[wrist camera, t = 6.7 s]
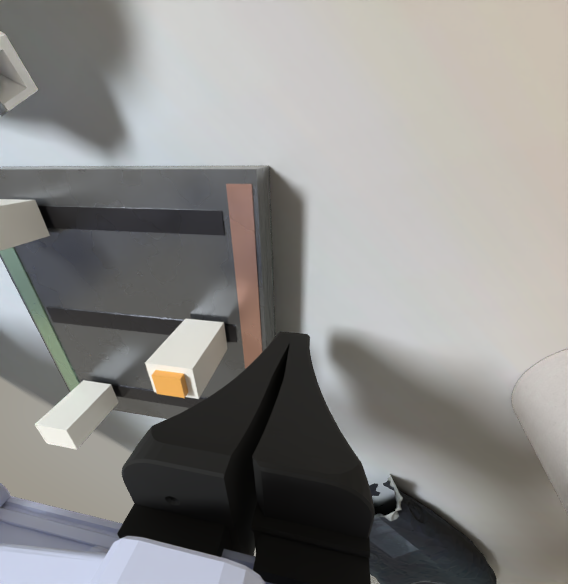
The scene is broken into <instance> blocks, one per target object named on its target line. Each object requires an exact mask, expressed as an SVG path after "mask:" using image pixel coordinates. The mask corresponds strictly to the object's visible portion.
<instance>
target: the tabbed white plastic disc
mask: <svg viewBox="0 0 568 584" xmlns="http://www.w3.org/2000/svg"><path fill="white" fill-rule="evenodd" d="M36 91H38V88H37V87H36V85H35V83H34V81H33V80H32V78H31V76H30V75H29V73H28V71H27V70H26V68H25V66H24V65H23V63H22V61H21V59H20V58H19V56H18V54H17V53H16V51H15V49H14V48H13V46H12V44H11V42H10V41H9V39H8V37H7V36H6V34H4V33H2V32H0V116H3V115H4V114H6V113H7V111H10V110H11V109H13V108H14V107H16V106H17V105H18V104H20V103H21V102H22V101H24V100H25V99H27V98H28V97H29V96H31V95H32V94H34V93H35V92H36Z"/></svg>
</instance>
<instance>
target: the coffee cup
mask: <svg viewBox="0 0 568 584" xmlns="http://www.w3.org/2000/svg"><path fill="white" fill-rule="evenodd" d="M512 407H513V410H514V412H515V414H516V416H517V418H518V420H519V422H520V424H521V426H522V428H523V430H524V432H525V433H526V435H527V437H528V439H529V441H530V443H531V445H532V447H533V449H534V451H535V453H536V455H537V457H538V459H539V461H540V462H541V464H542V466H543V468H544V470H545V472H546V474H547V476H548V478H549V480H550V482H551V484H552V486H553V488H554V489H555V491H556V493H557V495H558V497H559V499H560V501H561V503H562V505H563V507H564V509H565V511H566V513H567V515H568V349H566V350H563V351H560V352H558V353H555V354H553V355H551V356H549V357H547V358H545V359H543V360H541V361H540V362H538V363H537V364H535V365H534V366H532V367H531V368H530V369H529V370H528V371H526V372H525V373H524V374H523V375H522V377H521V378H520V379H519V380H518V382H517V384H516V385H515V387H514V390H513V393H512Z"/></svg>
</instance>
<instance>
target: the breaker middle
mask: <svg viewBox="0 0 568 584" xmlns="http://www.w3.org/2000/svg"><path fill="white" fill-rule="evenodd" d="M226 351H227V341H226V334H225V326H224V322H216V321H206V320H195V319H185V320H184V321H183V322H182V323H181V324H180V325H179V326H178V327H177V328H176V329H175V330H174V332H173V333H172V334H171V335H170V336H169V337H168V338H167V339H166V340H165V341H164V342H163V344H162V345H161V346H160V347H159V348H158V349H157V350H156V351H155V352H154V353H153V354H152V356H151V357H150V358H149V359H148V360H147V361H146V362H145V365H146V368H147V371H148V374H149V377H150V380H151V383H152V387H153V390H154V392H156V393H157V394H161V395H167V396H174V397H180V398H185V397H189V398H196V399H199V398H200V396H201V394H202V393H203V391H204V389H205V387H206V386H207V384H208V382H209V380H210V379H211V377H212V375H213V373H214V372H215V370H216V368H217V366H218V365H219V363H220V361H221V359H222V358H223V356H224V354H225V352H226Z"/></svg>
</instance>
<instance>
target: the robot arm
mask: <svg viewBox="0 0 568 584" xmlns="http://www.w3.org/2000/svg"><path fill="white" fill-rule="evenodd" d="M309 345H310V337H309V335H308V334H299V333H289V332H279V333H278V334H277V336H276V337H275V338H274V339H273V341H272V342H271V343H270V344H269V345H268V346H267V348H266V349H265V350H264V351H263V352H262V353H261V354H260V355H259V356H258V357H257V358H256V359H255V360H254V361H253V362H252V363H251V364H250V365H249V366H248V367H247V368H246V369H245V370H244V371H243V372H242V373H240V374H239V375H238V376H237V377H236V378H234V379H233V380H232V381H231V382H229V383H228V384H227V385H225V386H224V387H223V388H221V389H220V390H218V391H217V392H216V393H214V394H213V395H211V396H210V397H208V398H207V399H205V400H203V401H202V402H200V403H198V404H196V405H195V406H193V407H191V408H189V409H187V410H185V411H184V412H182V413H180V414H178V415H175V416H173V417H171V418H169V419H167V420H165V421H163V422H160V423H158V424H156V425H154V426H152V427H151V428H150V430H149V431H148V432H147V433H146V434H145V436H144V437H143V438H142V440H141V441H140V443H139V444H138V445H137V447H136V448H135V450H134V451H133V453H132V454H131V456H130V457H129V459H128V460H127V461H126V463H125V464H124V466H123V468H122V477H123V480H124V483H125V485H126V487H127V489H128V491H129V493H130V495H131V497H132V499H133V501H134V503H135V504H134V506H133V507H132V509H131V511H130V512H129V514H128V516H127V518H126V519H125V521H124V523H123V524H122V523H118V522H114V521H110V520H106V519H102V518H98V517H94V516H90V515H86V514H82V513H77V512H74V511H70V510H66V509H62V508H57V507H53V506H50V505H45V504H41V503H37V502H33V501H29V500H25V499H21V498H17V497H13V496H10V493H9V492H8V490H7V489H6V488H5V486H3V485H2V484H1V483H0V584H371V582H370V566H369V559H370V539H369V536H370V532H371V529H372V525H373V521H374V505H373V499H372V495H371V491H370V487H369V484H368V481H367V478H366V475H365V472H364V469H363V466H362V463H361V462H360V460H359V459H358V457H357V456H356V454H355V453H354V452H353V450H352V449H351V447H350V446H349V444H348V443H347V441H346V439H345V438H344V436H343V434H342V433H341V431H340V430H339V428H338V426H337V424H336V422H335V420H334V418H333V417H332V415H331V413H330V411H329V409H328V407H327V405H326V402H325V400H324V398H323V395H322V393H321V391H320V388H319V385H318V382H317V379H316V376H315V373H314V369H313V365H312V361H311V356H310V350H309ZM255 548H256V557H255V556H254V550H255Z"/></svg>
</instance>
